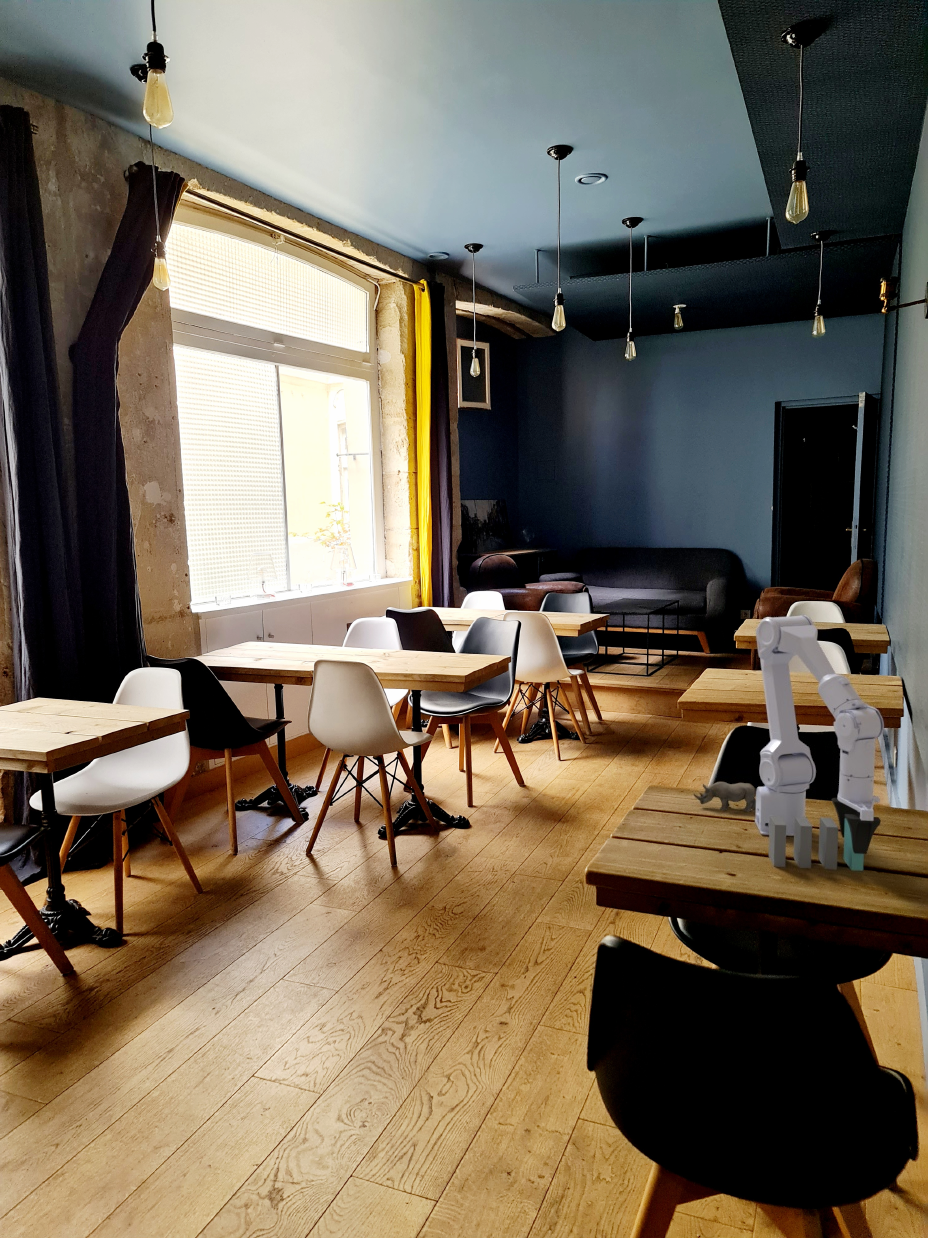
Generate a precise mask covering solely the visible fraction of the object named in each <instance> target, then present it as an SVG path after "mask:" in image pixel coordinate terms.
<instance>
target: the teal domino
mask: <svg viewBox="0 0 928 1238" xmlns="http://www.w3.org/2000/svg"><path fill="white" fill-rule="evenodd" d="M864 855H865V854H855V853H854V852H853V848H852V840H851V832H850V828H849V825H848V822H847V820H846V818H845V828H844V838H843V861H844V862H845V864H847V866H848V868H849V869H850V870H851V871H858V872H859V871H861V872H862V871H864Z"/></svg>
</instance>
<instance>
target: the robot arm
mask: <svg viewBox="0 0 928 1238" xmlns="http://www.w3.org/2000/svg"><path fill="white" fill-rule="evenodd" d="M755 637H756V646H757V653H758V658H760V659H759V660H760V668H761V669H760V670H761V674H762V675H761V677H762V682H763V683H762V684H763V691H764V697H765V698H764V699H765V707H766V713H767V714H766V715H767V722H768V729H769V731H768V732H769V738H770V741H769V742H768V743H767V744H766V746H764V747H763V748H762V749H761V751H760V752H759V755H760V764H759V776H760V780H761V781H762V784H764V785H763V786H758V787H757V788H756V796H755V799H756V809H755V817H754V818H755V819H754V822H755V825H756V827H757V828H758V830H759V833H760V835H763V836H764V835H765V836H769V823H770V816H781V817H782V819H783V821H784V822H785V824H786V837H787V836H789V837H794V822H795V816H796V817H806V793H807V792H806V791H807V790H808V789H810V784H811V783H813V782H814V781H815V778H816V773H817V770H816V765H815V762H814V761H813V758H812V755H811V750H810V747H809V746H807V744H805V743H803V741H801V740H800V739H799V735H798V728H797V727H798V726H797V720H796V719H797V718H796V711H795V704H794V703H795V702H794V697H793V696H794V695H793V690H792V681H791V674H790V673H791V672H790V666H789V665H790V664H789V663H790V662H791V661H792V659H793V658H794V657H795V656H798V658H799V659H800V660H801V662H802V663H803V664H804V665H805V667H806V668H807V669H808V671H809V672H810V673H811V674H812V675H813V677H814V679H815V680H817V682H818V687H817V693H818V695H819V696H820V698H821V700H822V701H823V702H824V704H825V705H826V707H827V709H828V710H829V711H830V713H831V714H832V716H833V717H834V720H835V721H833V730H834V733H835V735H836V738H837V745H838V748H839V749H840V753H839V756H840V758H839V781H838V782H839V783H838V784H839V785H838V793H837V797H833V798H831V802H832V804H833V806H834V809H835V811H836V814H837V818H838V825H839V829H840V835H841V838H843V839H844V828H845V818H846V820H847V822H848V825H849V828H850V832H851V840H852V848H853V852H854V853H855V854H864V855H867V853H868V851H869V848H870V844H871V841H872V838H873V836H874V834H875V832H876V830H877V829H878V827H880V825H881V822H882V820H881V818H880V817H879V816H875V815H874V811H875V810H874V809H873V808H874V804H877V803H880V802H881V798H880V797H879V796H877V795H874V786H875V785H874V781H875V763H876V762H875V759H876V739H878V738H880V737H881V736H882V734H883V732H884V729H885V723H884V719H883V717H882V715H881V713H880V710H879V709H877V708H876V707H874V706H871V705H869V704H868V703H866V702H864V701H863V700H862V698H861V697H860V695H859V694H858V693H857V691H856V690H855V688H854V687H853V685H852V684H851V681H850V680H849V678H848V677H847V676H845V675H842V674H837V673H836V672H835V670H834V668H833V666H832V665H831V663H830V661H829V659H828V657H827V655H826V654H825V652H824V650H823V649H822V647H821V645H820V644H819V641H818V628H817V627H816V626H815V624H814V622H813V620H812V619H811V617H809V616H808V615H805V614H800V615H796V616H795V615H793V616H778V617H777V616H776V617H775V616H774V617H771V616H767V617H763V619H761V620H760V622H759V624H758V626H757V627H756V629H755Z"/></svg>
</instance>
